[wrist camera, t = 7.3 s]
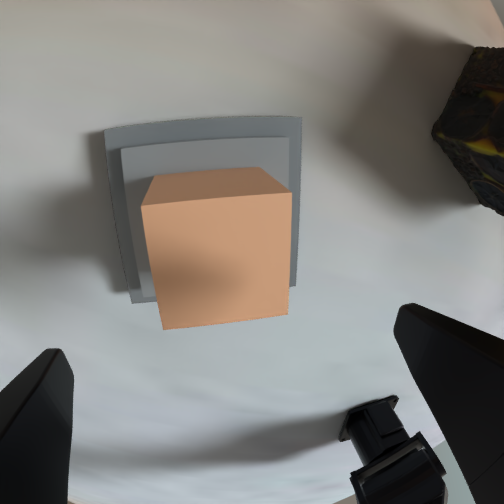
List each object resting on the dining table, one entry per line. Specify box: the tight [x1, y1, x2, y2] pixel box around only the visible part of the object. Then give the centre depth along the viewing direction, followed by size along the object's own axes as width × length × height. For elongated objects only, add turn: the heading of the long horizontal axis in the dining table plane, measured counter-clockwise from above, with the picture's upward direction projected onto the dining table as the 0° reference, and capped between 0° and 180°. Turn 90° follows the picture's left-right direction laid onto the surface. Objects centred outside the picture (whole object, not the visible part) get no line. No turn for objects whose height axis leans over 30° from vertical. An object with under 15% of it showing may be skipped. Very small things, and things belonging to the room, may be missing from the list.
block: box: [141, 167, 292, 330], centre depth 13 cm, size 5×5×5 cm
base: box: [104, 116, 302, 304], centre depth 17 cm, size 10×10×2 cm
